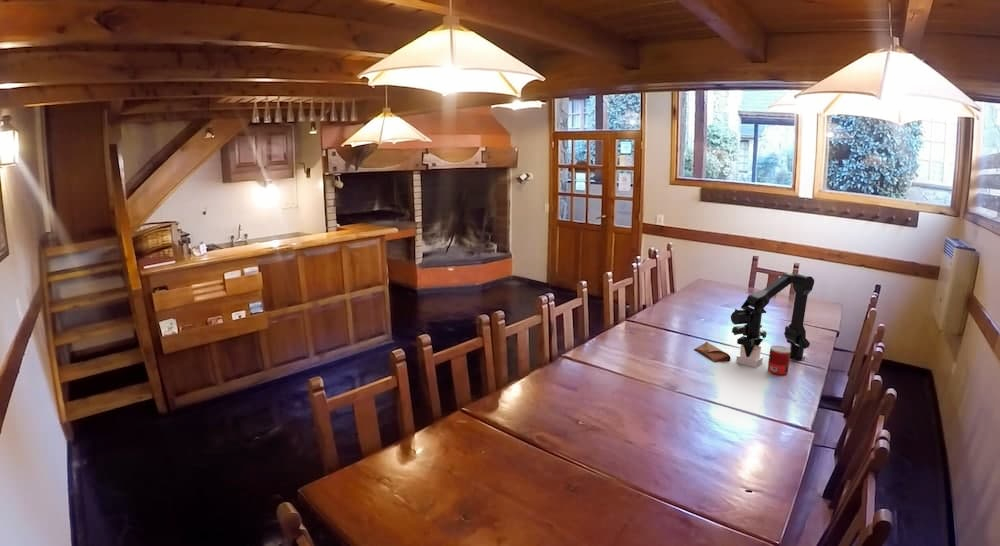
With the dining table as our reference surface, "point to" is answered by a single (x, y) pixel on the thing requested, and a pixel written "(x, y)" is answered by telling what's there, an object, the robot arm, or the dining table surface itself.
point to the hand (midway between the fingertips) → (749, 355)
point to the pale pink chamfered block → (749, 361)
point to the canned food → (779, 360)
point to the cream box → (754, 354)
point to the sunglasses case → (712, 353)
